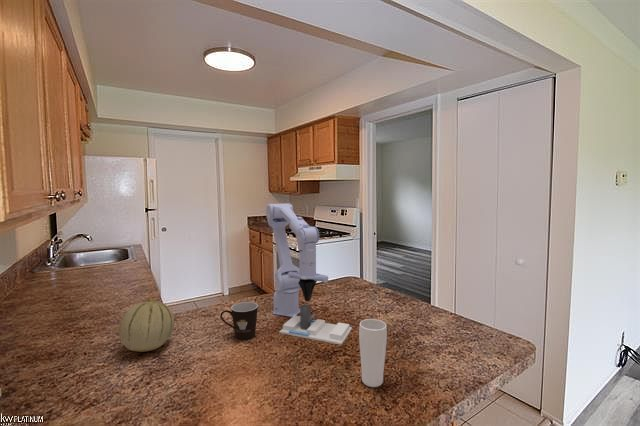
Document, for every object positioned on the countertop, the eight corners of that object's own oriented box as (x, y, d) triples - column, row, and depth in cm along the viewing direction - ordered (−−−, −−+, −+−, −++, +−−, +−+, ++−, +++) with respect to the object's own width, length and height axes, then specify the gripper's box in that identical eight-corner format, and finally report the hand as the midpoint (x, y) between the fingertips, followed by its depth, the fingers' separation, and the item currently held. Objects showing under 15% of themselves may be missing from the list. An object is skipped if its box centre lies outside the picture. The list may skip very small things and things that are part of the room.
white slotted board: (279, 333, 106) (279, 326, 105) (295, 319, 117) (295, 313, 116) (341, 344, 97) (341, 338, 97) (352, 328, 108) (352, 322, 108)
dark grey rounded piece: (298, 328, 107) (298, 307, 107) (310, 317, 117) (310, 298, 116) (308, 330, 106) (308, 309, 106) (319, 319, 115) (319, 299, 115)
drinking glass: (387, 376, 81) (388, 320, 80) (384, 392, 74) (384, 331, 73) (361, 371, 83) (362, 317, 82) (356, 387, 77) (356, 327, 75)
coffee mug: (263, 333, 106) (263, 304, 105) (247, 344, 98) (246, 313, 97) (236, 326, 110) (235, 299, 110) (218, 337, 103) (218, 307, 102)
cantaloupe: (117, 367, 85) (114, 314, 84) (122, 344, 98) (120, 297, 97) (176, 354, 92) (174, 304, 91) (174, 333, 105) (172, 290, 104)
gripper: (283, 262, 107) (284, 301, 108) (322, 266, 102) (322, 307, 103) (293, 258, 114) (293, 294, 115) (330, 261, 108) (330, 300, 109)
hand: (307, 300), depth 109 cm, fingers closed
